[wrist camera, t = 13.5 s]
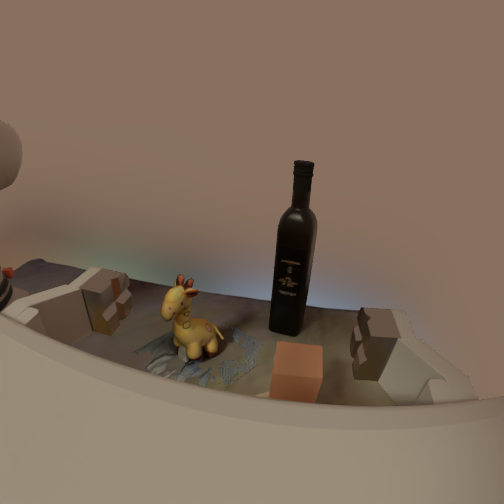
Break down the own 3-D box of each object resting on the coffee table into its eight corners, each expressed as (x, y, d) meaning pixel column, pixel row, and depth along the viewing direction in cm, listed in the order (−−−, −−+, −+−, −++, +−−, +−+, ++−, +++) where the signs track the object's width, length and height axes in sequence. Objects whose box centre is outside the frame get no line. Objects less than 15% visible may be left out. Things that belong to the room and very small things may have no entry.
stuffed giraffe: (132, 353, 45) (118, 270, 39) (209, 315, 58) (212, 240, 52) (193, 414, 36) (189, 328, 30) (273, 356, 49) (288, 275, 43)
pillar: (263, 430, 29) (272, 372, 24) (268, 401, 33) (277, 340, 29) (303, 434, 28) (322, 378, 24) (305, 405, 32) (322, 345, 28)
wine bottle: (296, 338, 51) (320, 165, 39) (266, 331, 53) (280, 160, 41) (303, 321, 56) (325, 162, 44) (275, 314, 58) (290, 158, 46)
